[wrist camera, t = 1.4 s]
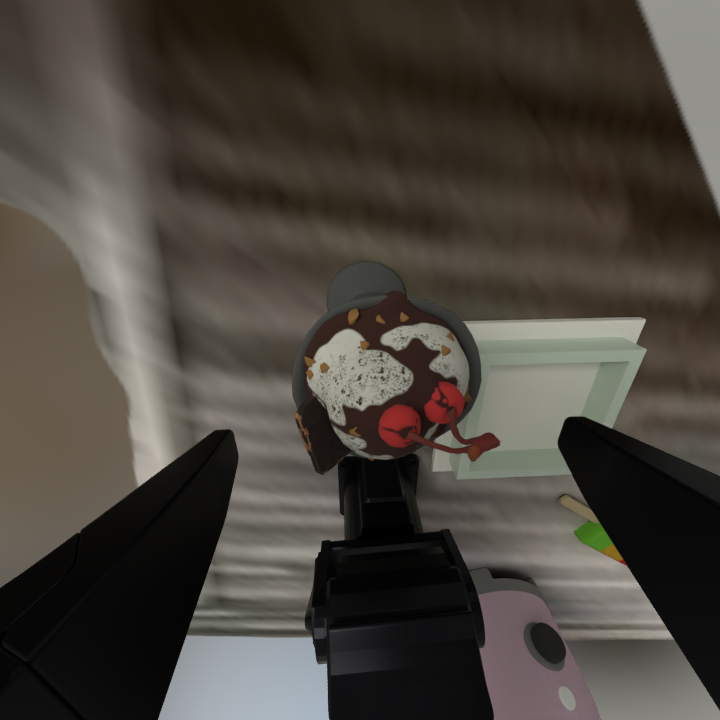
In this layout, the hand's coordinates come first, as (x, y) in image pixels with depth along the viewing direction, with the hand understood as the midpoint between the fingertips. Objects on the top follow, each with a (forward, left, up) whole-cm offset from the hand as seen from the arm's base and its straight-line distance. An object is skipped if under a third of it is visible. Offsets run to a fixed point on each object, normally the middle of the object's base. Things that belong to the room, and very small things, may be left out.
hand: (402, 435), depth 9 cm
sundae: (0, 0, -13) cm, 13 cm away
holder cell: (-8, -12, -13) cm, 19 cm away
